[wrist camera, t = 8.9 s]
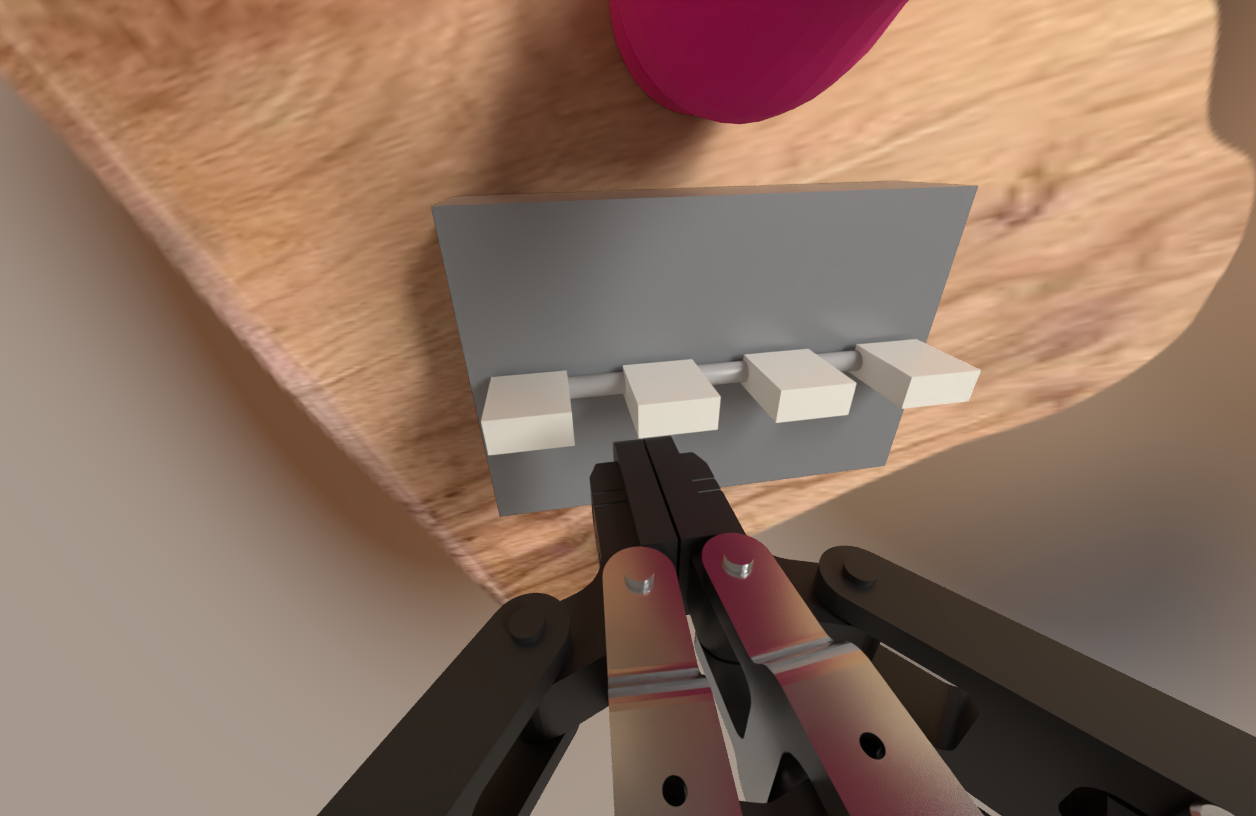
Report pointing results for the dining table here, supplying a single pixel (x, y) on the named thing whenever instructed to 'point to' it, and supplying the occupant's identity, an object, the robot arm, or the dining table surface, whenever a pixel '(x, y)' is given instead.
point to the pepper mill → (744, 51)
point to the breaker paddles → (689, 403)
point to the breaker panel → (694, 309)
